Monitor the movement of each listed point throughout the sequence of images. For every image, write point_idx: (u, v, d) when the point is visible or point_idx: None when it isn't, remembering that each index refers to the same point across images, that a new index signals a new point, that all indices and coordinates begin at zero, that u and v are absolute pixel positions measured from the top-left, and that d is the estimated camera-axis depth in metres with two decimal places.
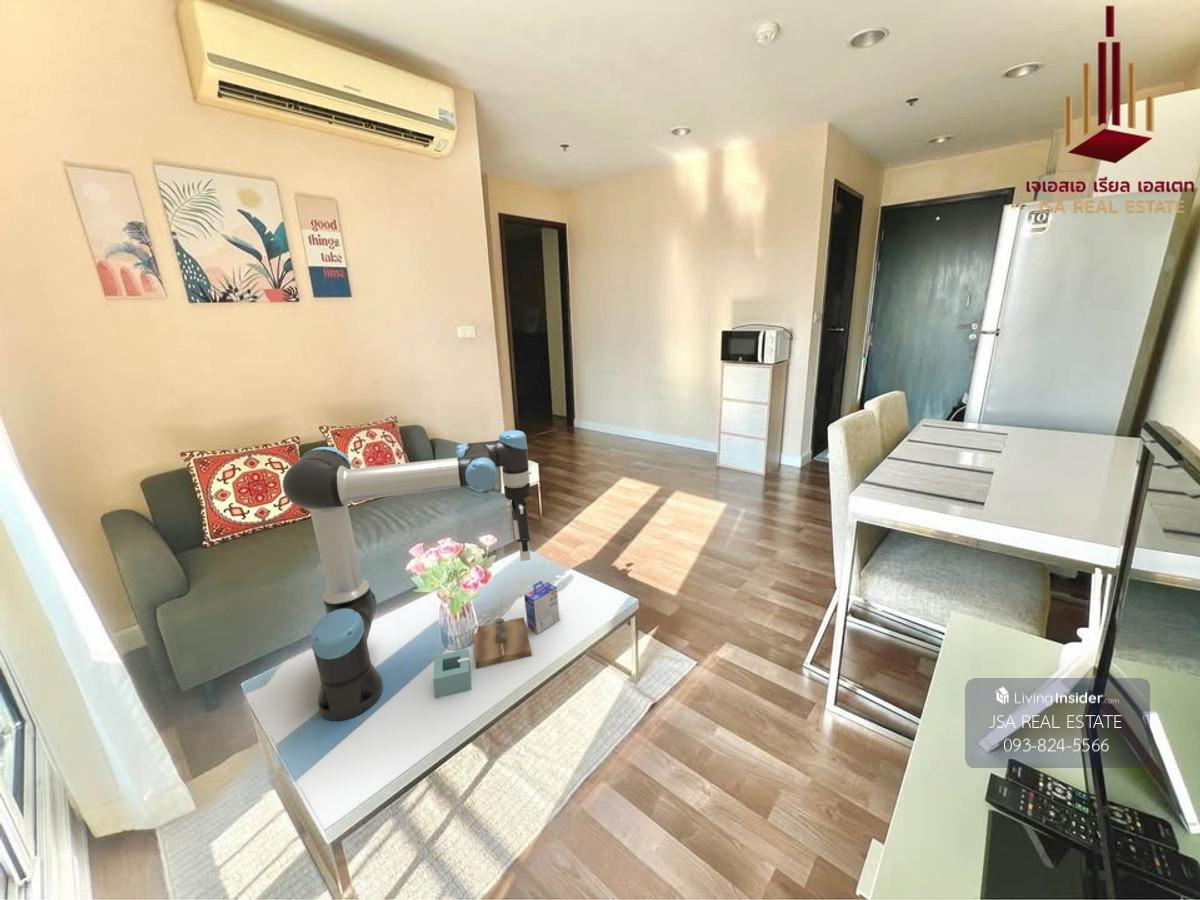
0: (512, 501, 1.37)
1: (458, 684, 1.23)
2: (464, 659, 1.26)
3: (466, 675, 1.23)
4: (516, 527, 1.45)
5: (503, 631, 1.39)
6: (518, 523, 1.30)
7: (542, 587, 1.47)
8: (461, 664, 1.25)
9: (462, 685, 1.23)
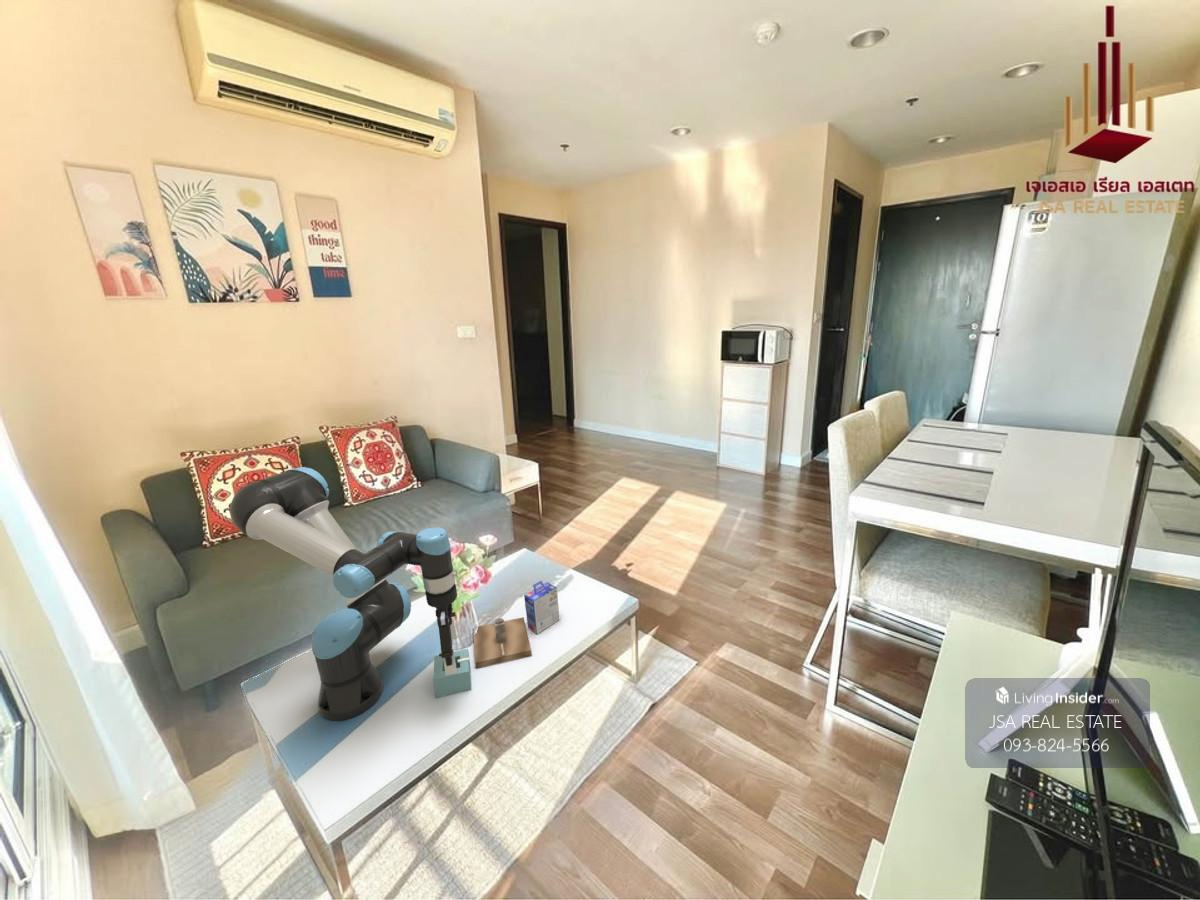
0: None
1: (458, 684, 1.23)
2: (464, 659, 1.26)
3: (466, 675, 1.23)
4: None
5: (503, 631, 1.39)
6: (439, 635, 1.14)
7: (542, 587, 1.48)
8: (461, 664, 1.25)
9: (462, 685, 1.23)
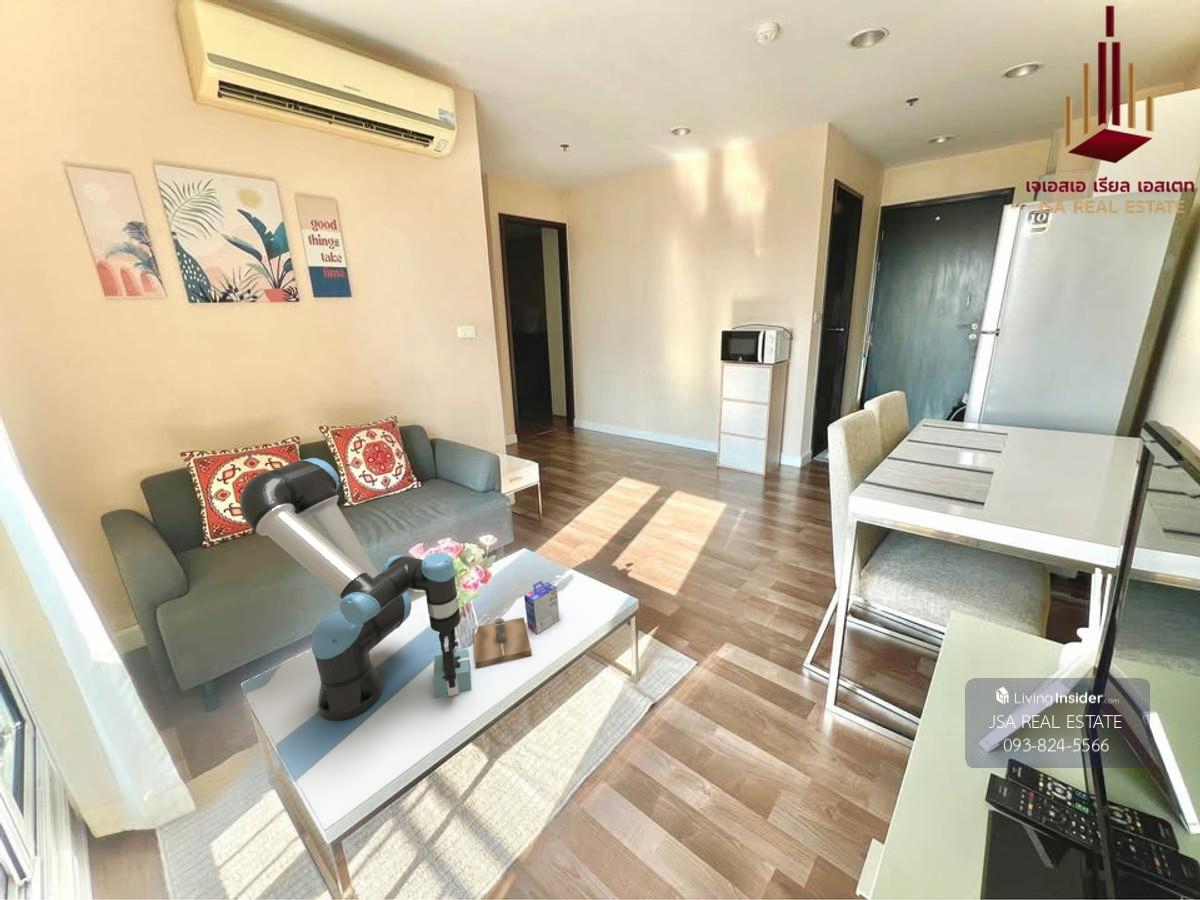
0: None
1: (458, 684, 1.23)
2: (464, 659, 1.26)
3: (466, 675, 1.23)
4: None
5: (503, 631, 1.39)
6: (443, 660, 1.18)
7: (542, 587, 1.48)
8: (461, 664, 1.25)
9: (462, 685, 1.23)
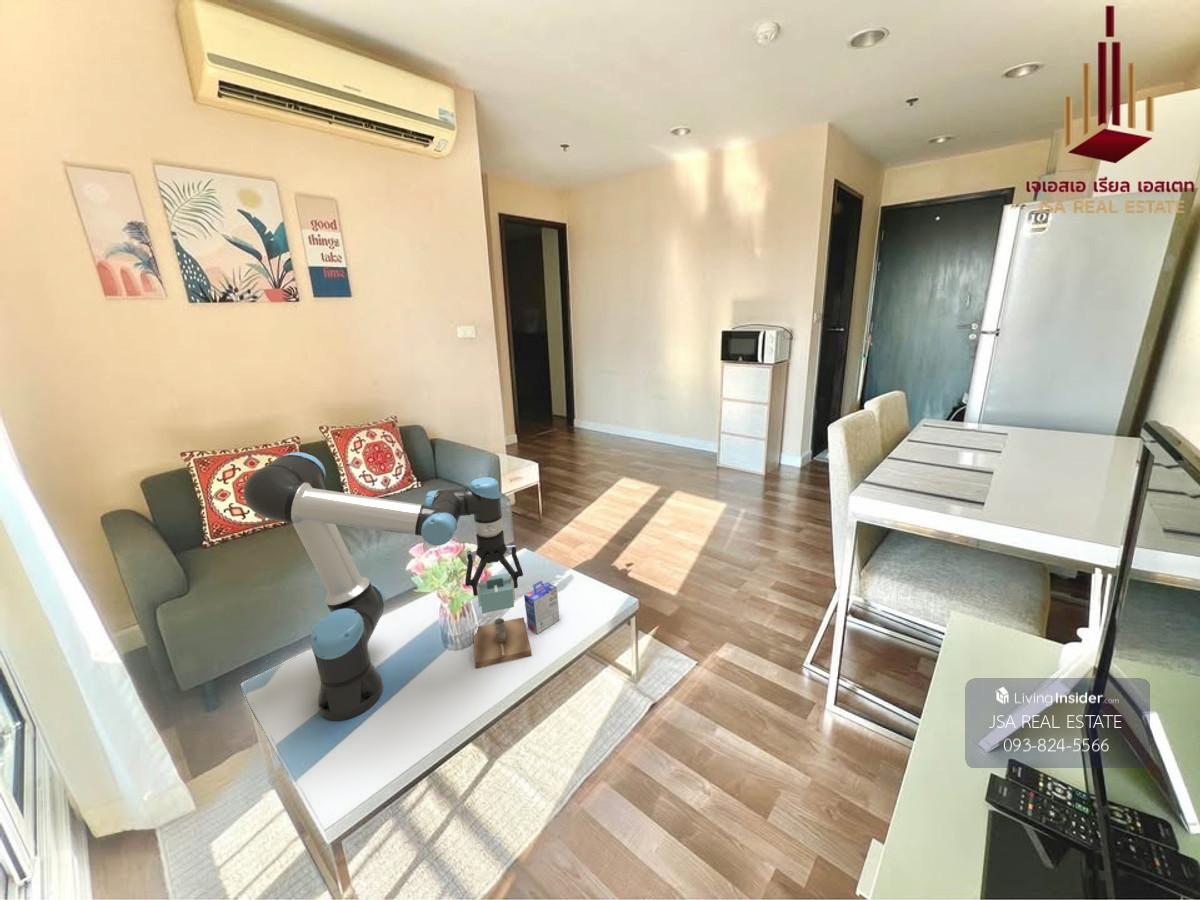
0: None
1: None
2: (495, 588, 1.32)
3: (480, 596, 1.31)
4: None
5: (503, 631, 1.39)
6: None
7: (542, 587, 1.48)
8: (491, 589, 1.32)
9: None
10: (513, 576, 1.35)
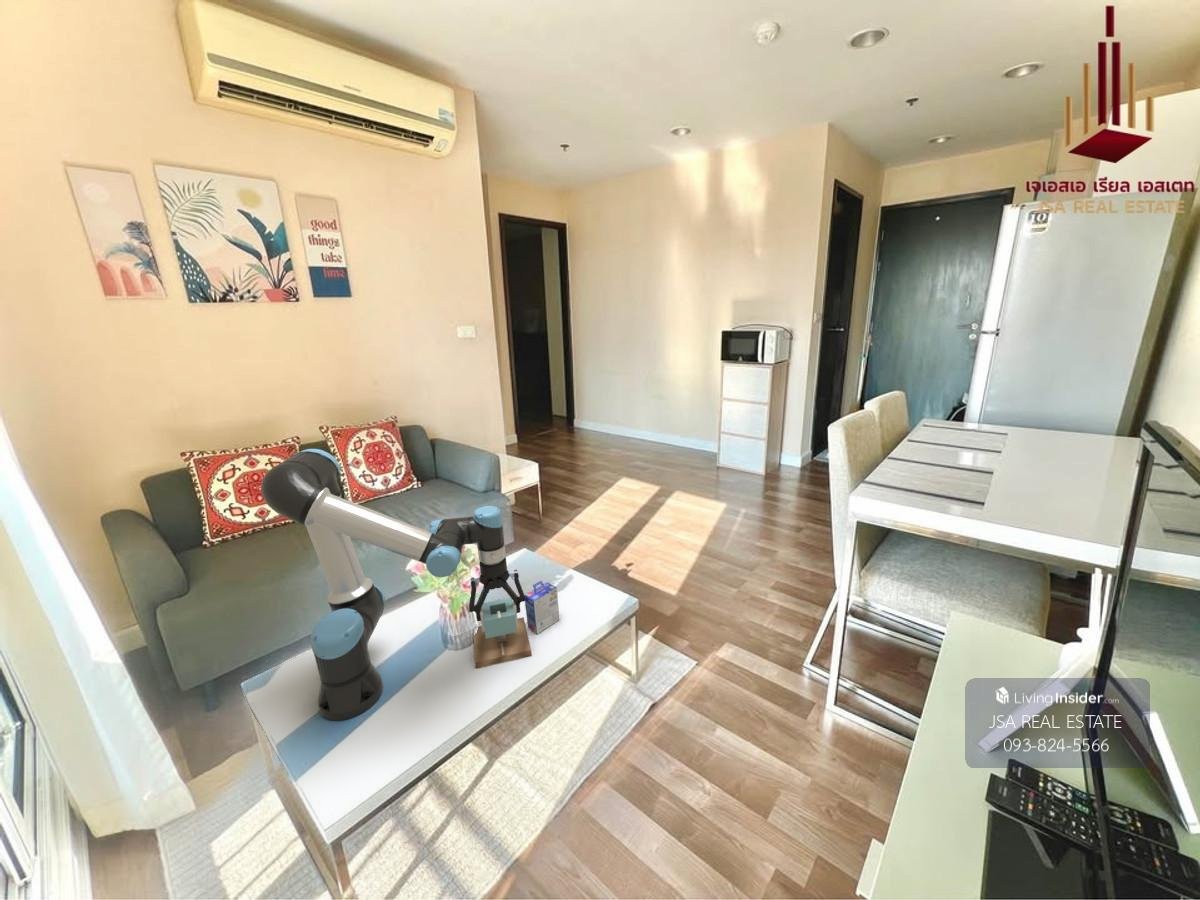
0: None
1: None
2: (498, 614, 1.34)
3: None
4: None
5: None
6: None
7: (542, 587, 1.48)
8: (494, 614, 1.35)
9: None
10: (516, 601, 1.38)
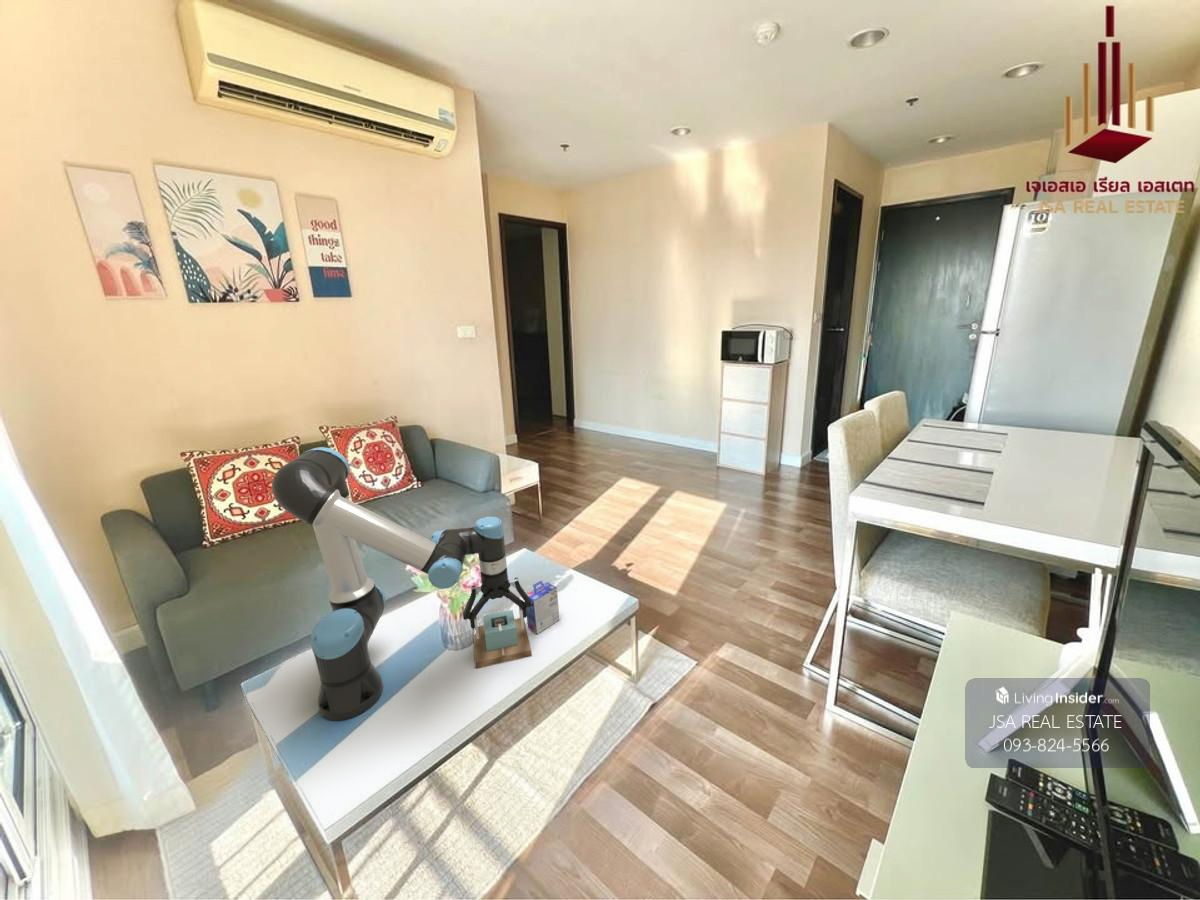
0: None
1: None
2: (499, 627, 1.36)
3: (485, 635, 1.35)
4: (519, 613, 1.41)
5: None
6: None
7: (542, 587, 1.48)
8: (495, 627, 1.36)
9: None
10: (522, 607, 1.39)
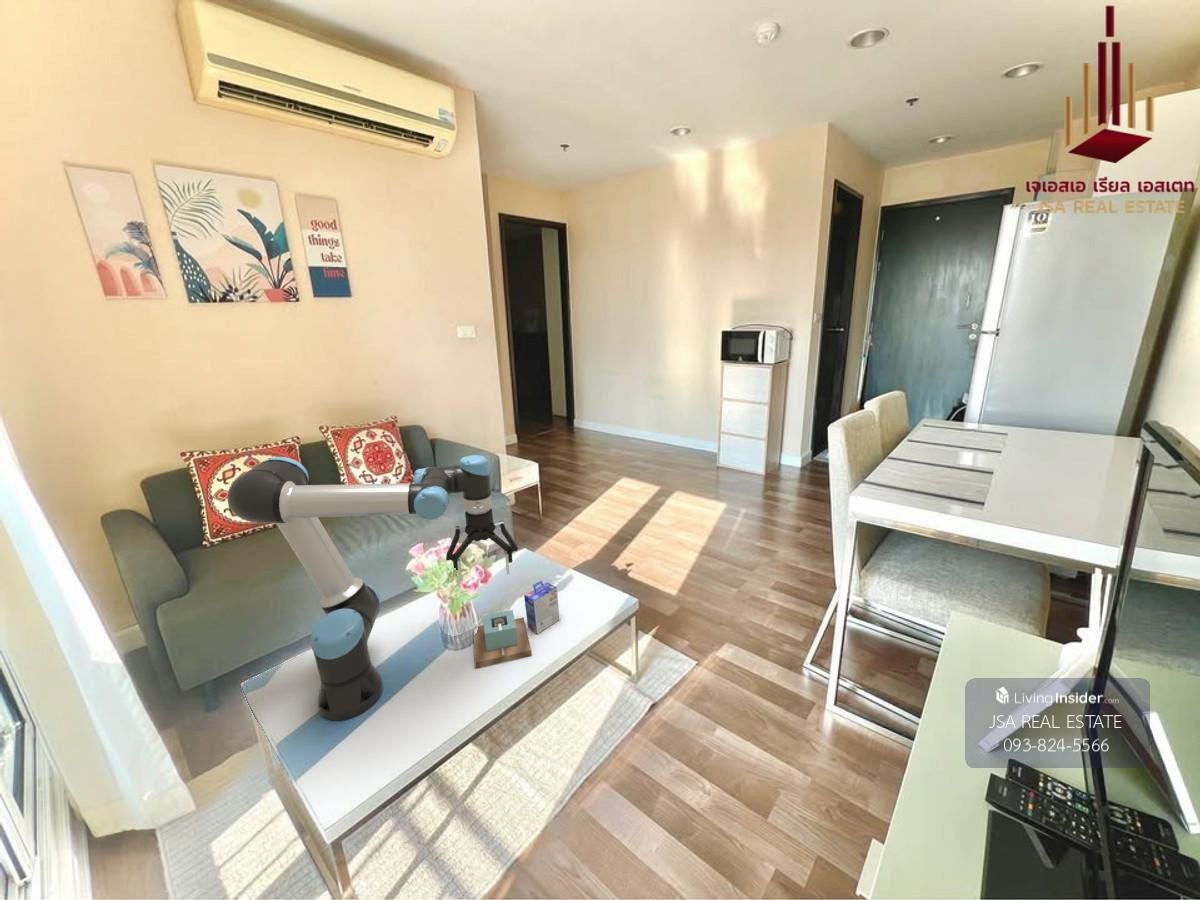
0: None
1: None
2: (499, 627, 1.36)
3: (485, 635, 1.35)
4: (505, 558, 1.38)
5: None
6: None
7: (542, 587, 1.48)
8: (495, 627, 1.36)
9: None
10: (507, 551, 1.36)
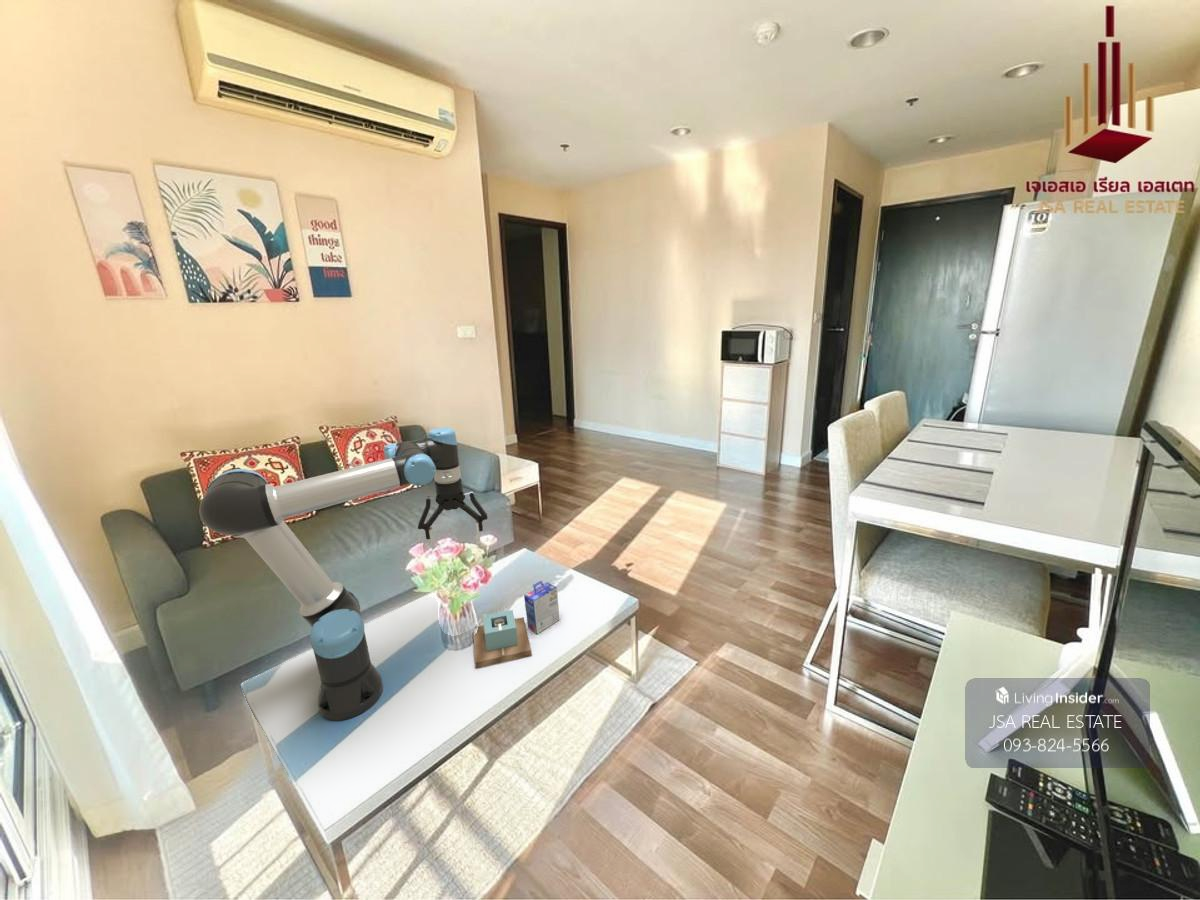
0: None
1: None
2: (499, 627, 1.36)
3: (485, 635, 1.35)
4: None
5: None
6: None
7: (542, 587, 1.48)
8: (495, 627, 1.36)
9: None
10: (477, 519, 1.42)
